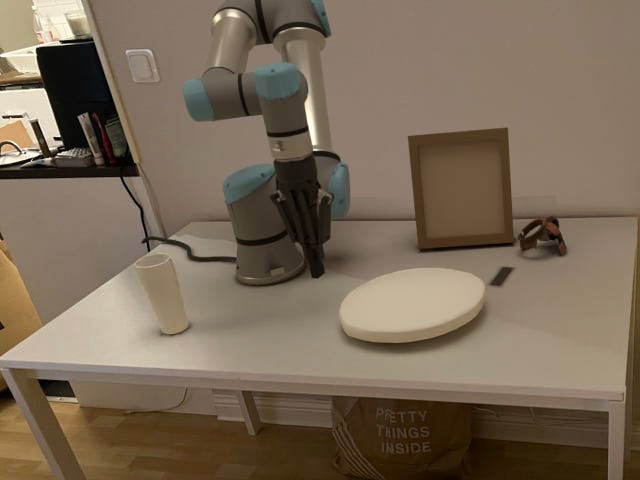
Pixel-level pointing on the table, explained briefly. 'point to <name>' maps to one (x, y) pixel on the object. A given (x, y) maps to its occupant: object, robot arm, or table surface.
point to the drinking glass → (162, 291)
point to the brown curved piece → (542, 233)
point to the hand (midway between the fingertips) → (318, 275)
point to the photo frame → (462, 188)
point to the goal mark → (501, 276)
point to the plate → (412, 305)
